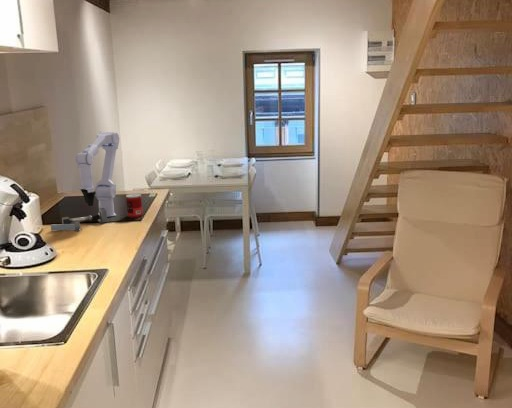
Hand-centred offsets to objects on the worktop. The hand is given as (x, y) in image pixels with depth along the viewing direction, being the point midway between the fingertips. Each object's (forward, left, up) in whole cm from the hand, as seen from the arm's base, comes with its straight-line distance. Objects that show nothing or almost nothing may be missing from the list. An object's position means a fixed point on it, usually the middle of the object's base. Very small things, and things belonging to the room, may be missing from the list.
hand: (89, 204), depth 257 cm
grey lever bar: (+7, -13, -10) cm, 17 cm away
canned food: (-3, +23, -10) cm, 25 cm away
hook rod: (-1, -6, -10) cm, 11 cm away
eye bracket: (-1, +6, -10) cm, 12 cm away
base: (+9, -8, -10) cm, 15 cm away
